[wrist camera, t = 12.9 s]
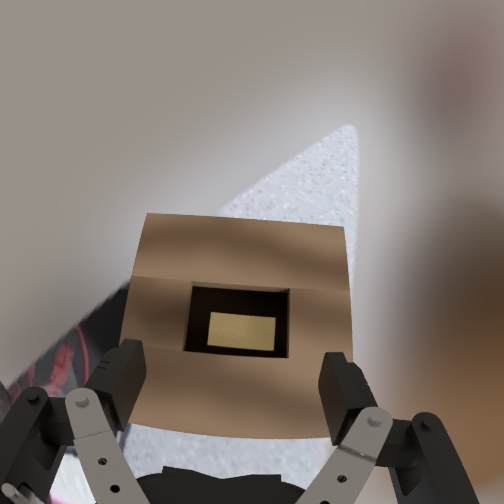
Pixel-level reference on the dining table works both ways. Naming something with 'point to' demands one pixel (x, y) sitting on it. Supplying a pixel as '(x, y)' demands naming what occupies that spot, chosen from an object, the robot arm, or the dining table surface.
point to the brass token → (241, 335)
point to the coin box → (239, 303)
